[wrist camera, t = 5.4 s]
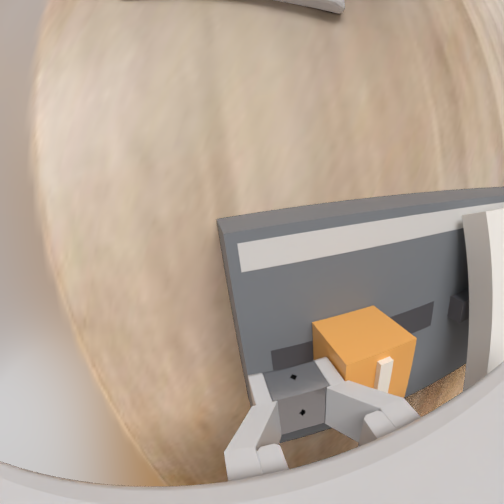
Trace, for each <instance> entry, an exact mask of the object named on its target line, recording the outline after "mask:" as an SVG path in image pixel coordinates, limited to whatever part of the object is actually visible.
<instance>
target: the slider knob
mask: <svg viewBox="0 0 504 504" xmlns="http://www.w3.org/2000/svg"><path fill="white" fill-rule="evenodd" d="M312 333H313V360H316V359H319V358H323V357H327V358H328V359H329V360H330V362H331V363H332V364H333V366H334V367H335V368H336V370H337V371H338V373H339V374H340V375H341V377H342V378H343V379H344V381H348V380H349V381H352V382H355V383H358V384H361V385H364V386H367V387H370V388H373V389H376V390H379V391H383V392H386V393H389V394H392V395H395V396H399V397H402V398H404V397H405V393H406V389H407V385H408V380H409V376H410V372H411V367H412V362H413V357H414V352H415V346H416V340H417V338H416V337H415V336H413V335H412V334H411V333H409V332H408V331H407V330H405V329H404V328H403V327H402V326H400V325H399V324H398V323H396V322H395V321H394V320H392V319H391V318H390V317H388V316H387V315H386V314H384V313H383V312H382V311H380V310H379V309H378V308H376V307H375V306H374V305H373V306H369V307H366V308H363V309H359V310H356V311H352V312H349V313H345V314H341V315H338V316H334V317H330V318H326V319H323V320H319V321H315V322H312Z"/></svg>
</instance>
